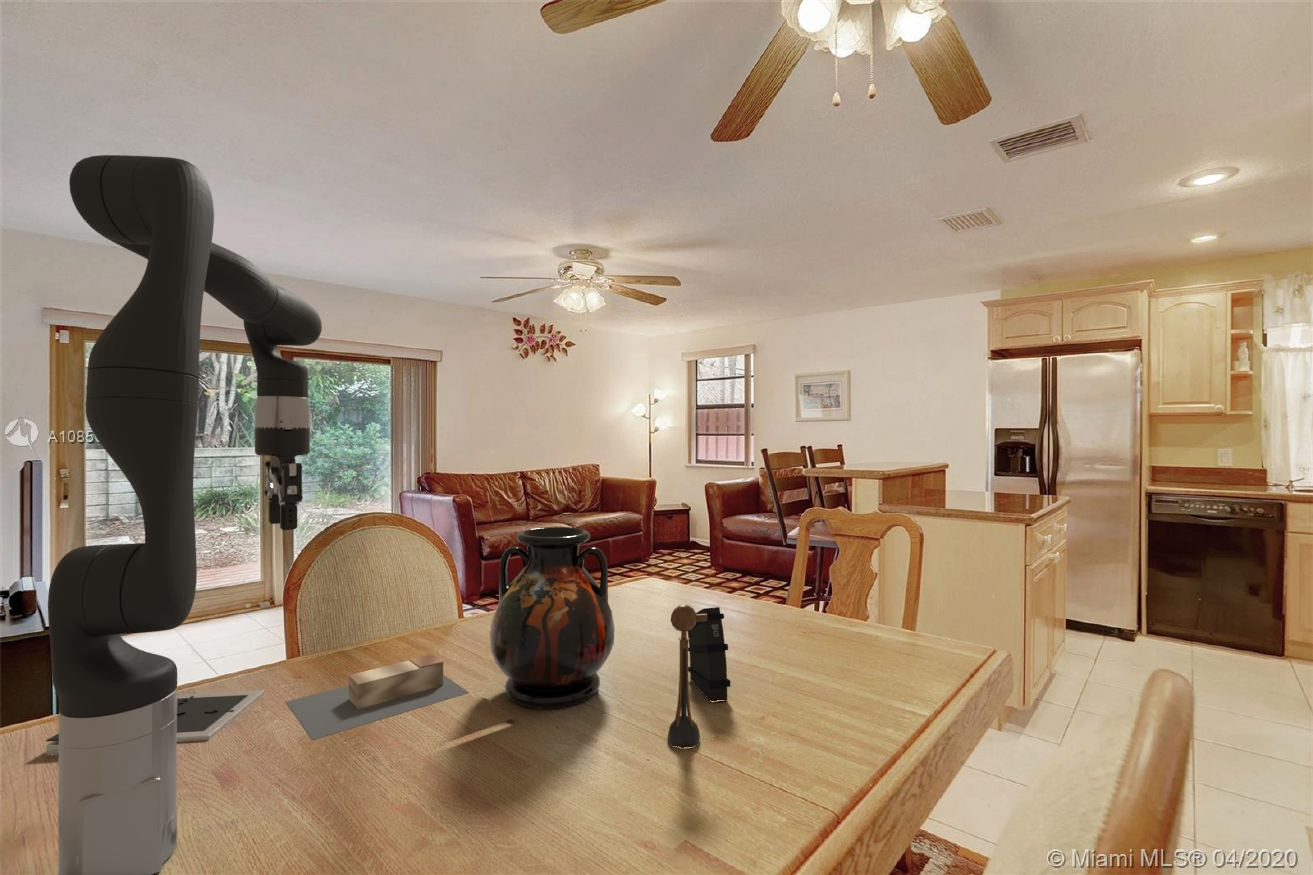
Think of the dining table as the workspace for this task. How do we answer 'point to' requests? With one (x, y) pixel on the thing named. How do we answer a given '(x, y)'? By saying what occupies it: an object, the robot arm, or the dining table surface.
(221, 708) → the picture frame
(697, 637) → the black banded case
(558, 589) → the amphora vase
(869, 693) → the dining table surface
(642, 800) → the dining table surface
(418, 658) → the beige wooden block
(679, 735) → the wooden tabletop sculpture
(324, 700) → the rubber mat
